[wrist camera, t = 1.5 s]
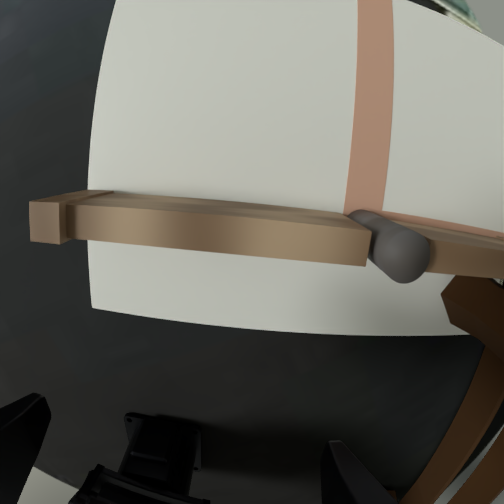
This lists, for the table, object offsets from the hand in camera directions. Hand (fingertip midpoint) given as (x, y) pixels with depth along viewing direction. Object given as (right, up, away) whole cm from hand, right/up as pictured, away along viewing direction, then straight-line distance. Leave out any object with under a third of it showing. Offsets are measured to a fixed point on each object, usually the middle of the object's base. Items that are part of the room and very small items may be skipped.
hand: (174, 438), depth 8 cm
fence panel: (0, +8, +10) cm, 12 cm away
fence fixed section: (+14, +6, +10) cm, 19 cm away
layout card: (+7, +11, +9) cm, 16 cm away
